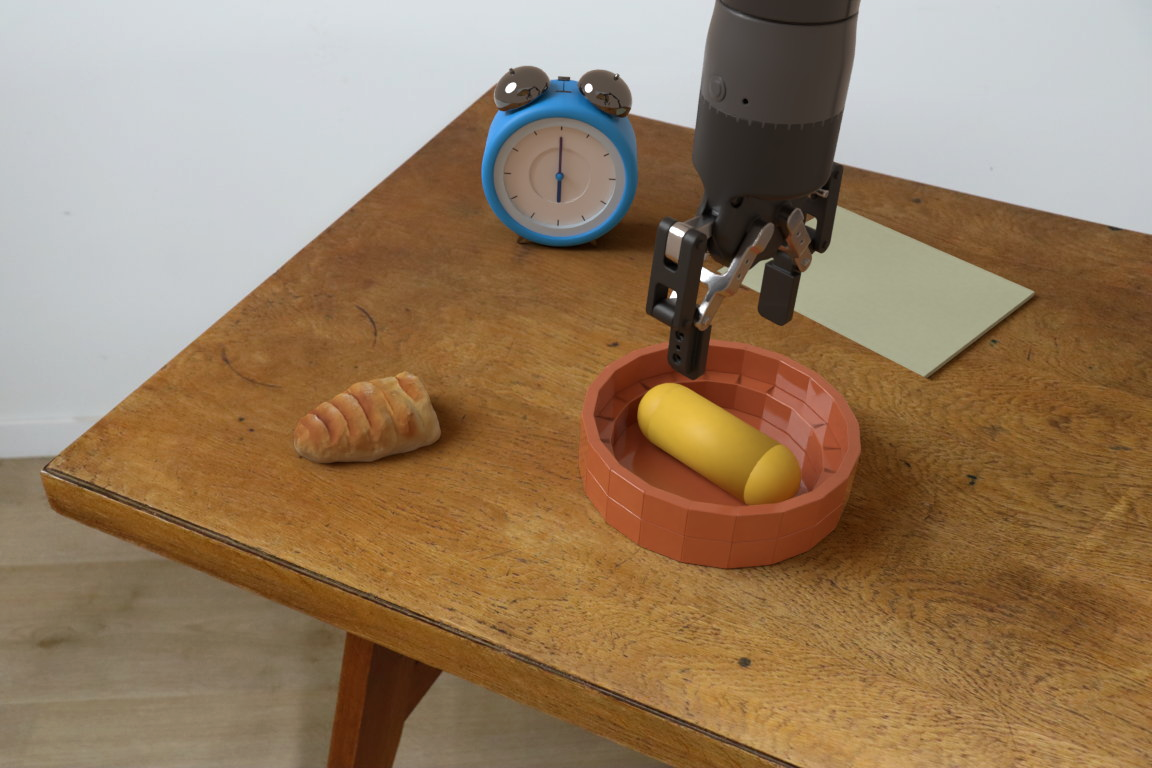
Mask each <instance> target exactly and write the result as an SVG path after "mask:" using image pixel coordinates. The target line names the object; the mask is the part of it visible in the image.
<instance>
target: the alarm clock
mask: <svg viewBox="0 0 1152 768" xmlns="http://www.w3.org/2000/svg"><path fill="white" fill-rule="evenodd" d="M493 100H494V103H495V106H496V108H497V112H496V114H495V116H494V117H493V118H492V122H491V123H490V126H489V129H488V133H487V137H486V142H485V148H484V152H483V156H482V162H481V171H480V172H481V183H482V189H483V192H484V193H483V194H484V196H485V198H486V201H487V203H488V205H489V207H490V208H491V209H490V210H492V213H494V215H495V216H496V217H497V218H498V220H499V221H500V222H501V223H502V224H503V225H504V226H505V227H506V228H508V229H509V230H510V231H512V232H513V233H514V234H516V235H518V237H517V240H516V243H517V244H520V243H521V242H522V241H523V240H524V239H525V240H528V241H530V242H533V243H535V244H538V245H539V244H540V245H543V246H549V247H574V246H579V245H583V244H587V243H591V245H592V246H593V247H594V248H597V247H598V243H597V239H599V238H601V237H602V236H604V235H605V234H607V233H609V232H610V231H612V230H613V229H614V228H615V227H616V226H617V225H618V224H619V223H620V222H621V221H622V220H623V219H624V218H625V216H626V215H627V213H628V212H629V210H630V208H631V206H632V204H633V202H634V200H635V196H636V194H637V189H638V183H639V182H638V181H639V168H638V166H639V165H638V146H637V138H636V137H637V136H636V134H635V131H634V127H633V125H632V123H631V120H630V119H629V116H628V115H629V114H630V112H631V110H632V106H633V95H632V91H631V89H630V87H629V85H628V84H627V83H626V81H625V80H624V79H623V78H622V77H621V76H620V74H619V73H614V72H613V71H610V70H607V69H600V68H595V69H591V70H588V71H586V72H585V73H583V74H582V75H581V77H580V78H578V80H574V79H571V76H562V75H559V76H557V78H556V79H550V77H549V76H548V74H547V73H546V71H544V70H543V69H542V68H539V67H538V66H535V65H520V66H517V67H514V68H513V67H510V68H508V71H507V72H506V73H504V74H503V75H502V76H501V77H500V79H499V80H498V82H497V83H496V85H495V88H494V90H493Z"/></svg>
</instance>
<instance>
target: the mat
mask: <svg viewBox="0 0 1152 768" xmlns="http://www.w3.org/2000/svg"><path fill="white" fill-rule="evenodd" d="M805 225H807V226H809V227H811V228H813V229H816V225H817V220H816V218H815V217H813V218H811V219H810V220H808V221H806V223H805ZM770 260H773V258H770V259H768V260H763V261H760V262H759V263H757V264H756V265H755V266H754V267H753V268H752V269H750V270H748V272H747V274H746V276H745V278H744V280H743V281H742V283H741V285H743V286H745V287H747V288H750V289H751V290H753V291H755V292H757V293H759V294H760V291H761V285H762V279H763V273H764V268H765V263H767V262H768V261H770ZM727 270H728V268H727V267H725V266H723V267H721V268H720V269H718V270H717V272H718V273H720V274H721V275H722V274H724V273H725V272H726V271H727ZM1035 293H1036V292H1035V290H1032V289H1029V288H1027V287H1025V286H1023V285H1021V284H1018V283H1016V282H1013V281H1011V280H1009V279H1006V278H1004V277H1002V276H1000V275H998V274H996V273H993V272H991V271H988V270H986V269H985V268H983V267H982V268H981V267H979V266H977V265H975V264H972V263H970V262H967V261H966V260H963V259H961V258H958V257H956V256H954V255H951V254H950V253H947V252H946V251H945V252H944V251H942V250H940V249H938V248H937V247H933V246H931V245H929V244H926V243H924V242H922V241H920V240H917V239H915V238H913V237H910V236H908V235H907V234H903V233H901V232H899V231H898V230H894V229H892V228H890V227H888V226H885V225H883V224H881V223H879V222H877V221H874V220H871V219H869V218H868V217H867V218H866V217H865V216H863V215H860V214H858V213H856V212H853V211H851V210H848V209H847V208H844V207H842V206H840V205H837V209H836V214H835V220H834V226H833V231H832V237H831V242H830V245H829V247H828V249H827V250H826V251H825V252H824V253H822V254H821V253H819V252H816V251H815V252H814V253H813V254H812V261H811V264H810V266H809V268H808V269H807V270H806V271H805V272H802V273H801V278H800V283H799V288H798V293H797V298H796V303H795V307H794V312H796V313H798V314H800V315H802V316H804V317H806V318H808V319H810V320H812V321H814V322H816V323H818V324H820V325H822V326H824V327H825V328H828V329H829V330H831V331H833V332H835V333H837V334H838V335H841V336H843V337H845V338H847V339H849V340H850V341H853V342H855V343H856V344H859V345H861V346H863V347H865V348H866V349H868V350H871V351H873V352H874V353H876V354H878V355H880V356H882V357H884V358H886V359H888V360H890V361H892V362H893V363H896V364H898V365H900V366H902V367H903V368H906V369H908V370H910V371H912V372H914V373H916V374H918V376H919V375H920V376H922V377H924V378H925V379H928V378H930V376H932V375H933V374H934V373H936V372H937V371H939V370H940V369H941V368H942V367H943V366H945V365H946V364H947V363H948V362H950V361H952V360H953V359H954V358H955V357H957V356H958V355H959V354H960V353H962V352H963V351H964V350H966V349H967V348H969V347H970V346H972V344H974V343H975V342H976V341H978V339H980V338H981V337H983V336H984V335H985V334H987V333H989V332H990V331H991V330H992V329H993V328H994V327H996V326H997V325H999V323H1001V322H1002V321H1003V320H1005V319H1007V317H1009V316H1010V315H1012V314H1013V313H1014V312H1015V311H1017V310H1018V309H1019V308H1021V307H1022V306H1023V305H1025V303H1027V302H1029V300H1031V299H1032V298H1033V297H1034V295H1035Z"/></svg>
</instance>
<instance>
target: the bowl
mask: <svg viewBox="0 0 1152 768" xmlns="http://www.w3.org/2000/svg"><path fill="white" fill-rule="evenodd" d="M668 346H669V340H668V341H663V342H660V343H656V344H652V345H649V346H644V347H642V348H637V349H633V350H632V351H630V352H628V353H626V354H625V355H622V356H621V357H619V358H618V359H616V360H614V361H612V362H611V363H609V364H607V365H606V366H605V367H604V368H603V369H602V371H601V372H600V373H599V374H598V375H597V377H595V379H594V380H593V381H592V383H590V385H589V386H588V387H587V389H586V393H585V397H584V401H583V405H582V408H581V409H582V410H581V414H580V428H579V429H580V430H579V446H578V463H577V465H578V470H579V474H580V478H581V482H582V488H583V491H584V494H585V495H586V497H587V499H588V500H589V501H590V502H591V504H592V505H593V507H594V508H595V509H596V511H597V512H598V513H599V515H600V516H601V517H602V518H603V520H604V521H605V522H606V523H607V525H609V526H611V527H612V528H613V529H615V530H616V531H618V532H619V533H621V534H622V535H624V537H626V538H628V539H629V540H630V541H631V542H633V543H634V544H636V545H637V546H639V547H641V548H644V549H646V550H649V551H652V552H654V553H656V554H659V555H662V556H664V557H666V558H669V559H671V560H675V561H677V562H680V563H684V564H685V563H686V564H691V565H698V566H704V567H711V568H717V569H718V568H719V569H726V570H727V569H738V568H740V569H741V568H750V567H760V566H771V565H775V564H778V563H780V562H783V561H785V560H788V559H791V558H793V557H796V556H799V555H802V554H805V553H807V552H809V551H811V550H812V549H813V548H815V546H817V545H818V544H819V543H820V542H821V541H823V540H824V539H825V538H827V536H829V535H830V534H832V532H833V531H834V530H836V528H837V527H838V524H839V522H840V520H841V518H842V515H843V514H844V511H845V509H846V507H847V505H848V502H849V500H850V499H849V498H850V495H851V491H852V487H853V483H854V479H855V476H856V471H857V469H858V465H859V461H860V457H861V452H862V445H861V432H860V423H859V421H858V419H857V417H856V416H855V413H854V412H853V410H852V409H851V407H850V404H849V403H848V402H847V400H846V398H845V396H844V395H843V394H842V393H841V392H840V391H838V390H837V389H836V388H835V387H834V386H833V385H832V384H831V383H829V382H828V381H827V379H826V378H824V377H823V376H822V375H821V374H820V373H818V372H816V371H814V370H813V369H811V368H809V367H808V366H805V365H803V364H802V363H800V362H798V361H796V360H794V359H793V358H791V357H788V356H787V355H785V354H783V353H779V352H775V351H773V350H769V349H767V348H763V347H759V346H757V345H754V344H750V343H746V342H738V341H731V340H723V339H714V338H710V342H709V349H708V356H707V362H706V369H705V373H704V375H702V376H701V377H699V378H697V379H696V380H691V379H689V378H687V377H685V376H684V375H682V374H680V373H679V372H677V371H675V370H674V369H672V367H671V366H670V365H669V364H668V361H667V354H668V351H669V350H668ZM665 383H676V384H680V385H682V386H685V387H687V388H689V389H690V390H692V391H694V392H695V393H697V394H699V395H700V396H702V397H704V398H705V399H707V400H709V401H710V402H712V403H714V404H716V405H717V406H719V407H721V408H722V409H724V410H726V411H727V412H729V413H731V414H732V415H734V416H736V417H737V418H739V419H741V420H742V421H744V422H746V423H747V424H749V425H751V426H752V427H754V428H756V429H757V430H759V431H761V432H762V433H764V434H766V435H768V436H769V437H771V438H773V439H774V440H776V441H778V442H779V443H781V444H783V445H784V446H786V447H787V448H788V449H790V450H791V452H792V453H793V454H794V455H795V456H796V458H797V460H798V462H799V465H800V468H801V483H800V487H799V490H798V492H797V493H796V495H795V496H794V498H791V499H789V500H786V501H783V502H780V503H776V504H763V505H751V506H749V505H747V504H745V503H744V502H742V501H741V500H739V499H738V498H736V497H735V496H733V495H732V494H730V493H728V492H727V491H725V490H724V489H722V488H721V487H719V486H718V485H716V484H714V483H713V482H711V481H710V480H708V479H707V478H705V477H704V476H702V475H701V474H699V473H697V472H696V471H694V470H693V469H691V468H690V467H688V466H687V465H685V464H684V463H682V462H680V461H679V460H677V459H676V458H674V457H673V456H671V455H670V454H668V453H667V452H665V451H663V450H662V449H660V448H659V447H657V446H656V445H654V444H653V443H651V442H650V441H649V440H648V439H647V438H646V437H645V436H644V435H643V433H642V431H641V429H640V427H639V424H638V419H637V414H638V407H639V404H640V402H641V400H642V398H643V397H644V395H645V394H646V393H647V392H648V391H649V390H651V389H652V388H654V387H655V386H657V385H661V384H665Z"/></svg>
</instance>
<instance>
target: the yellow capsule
mask: <svg viewBox="0 0 1152 768" xmlns="http://www.w3.org/2000/svg"><path fill="white" fill-rule="evenodd" d="M637 419H638V424H639V427H640V429H641V431H642V433H643V435H644V436H645V437H646V438H647V439H648V440H649V441H650V442H651V443H653V444H654V445H656V446H657V447H659V448H660V449H662V450H663V451H665V452H667V453H668V454H670V455H671V456H673V457H674V458H676V459H677V460H679V461H680V462H682V463H684V464H685V465H687V466H688V467H690V468H691V469H693V470H694V471H696V472H697V473H699V474H701V475H702V476H704V477H705V478H707V479H708V480H710V481H711V482H713V483H714V484H716V485H718V486H719V487H721V488H722V489H724V490H725V491H727V492H728V493H730V494H732V495H733V496H735V497H736V498H738V499H739V500H741V501H742V502H744V503H745V504H747V505H749V506H751V505H763V504H776V503H780V502H783V501H786V500H789V499H791V498H794V496H795V495H796V493H797V492H798V490H799V487H800V483H801V468H800V465H799V462H798V460H797V458H796V456H795V455H794V454H793V453H792V452H791V450H790V449H788V448H787V447H786V446H784V445H783V444H781V443H779V442H778V441H776V440H774V439H773V438H771V437H769V436H768V435H766V434H764V433H762V432H761V431H759V430H757V429H756V428H754V427H752V426H751V425H749V424H747V423H746V422H744V421H742V420H741V419H739V418H737V417H736V416H734V415H732V414H731V413H729V412H727V411H726V410H724V409H722V408H721V407H719V406H717V405H716V404H714V403H712V402H710V401H709V400H707V399H705V398H704V397H702V396H700V395H699V394H697V393H695V392H694V391H692V390H690V389H689V388H687V387H685V386H682V385H680V384H676V383H665V384H661V385H657V386H655V387H654V388H652V389H651V390H649V391H648V392H647V393H646V394H645V395H644V397H643V398H642V400H641V402H640V404H639V407H638V414H637Z"/></svg>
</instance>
